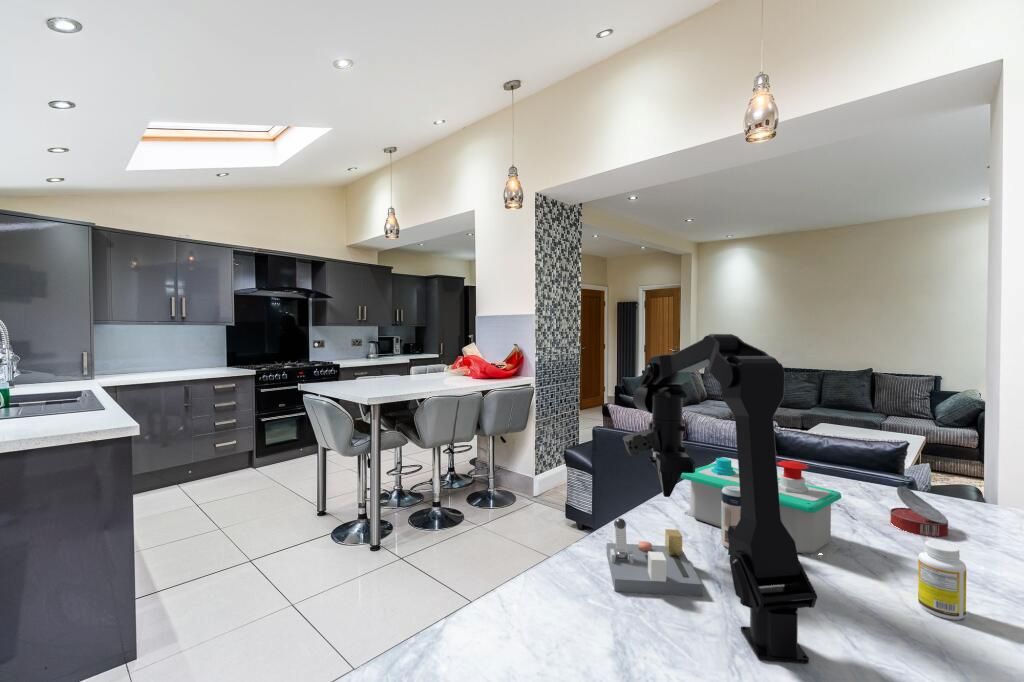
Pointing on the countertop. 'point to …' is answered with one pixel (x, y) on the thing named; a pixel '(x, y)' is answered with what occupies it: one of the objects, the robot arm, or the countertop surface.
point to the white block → (657, 566)
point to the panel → (637, 579)
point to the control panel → (799, 502)
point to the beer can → (729, 510)
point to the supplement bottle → (942, 581)
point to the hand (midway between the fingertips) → (666, 496)
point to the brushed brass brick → (673, 542)
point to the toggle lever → (620, 538)
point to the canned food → (918, 516)
